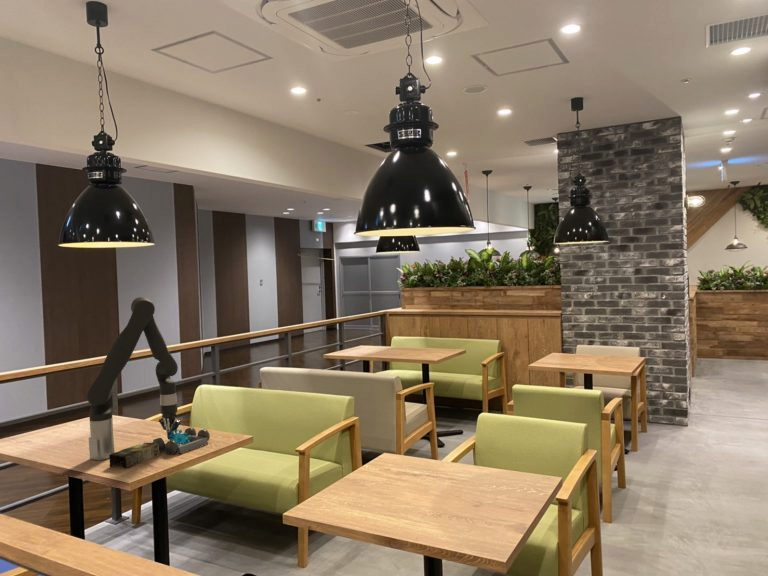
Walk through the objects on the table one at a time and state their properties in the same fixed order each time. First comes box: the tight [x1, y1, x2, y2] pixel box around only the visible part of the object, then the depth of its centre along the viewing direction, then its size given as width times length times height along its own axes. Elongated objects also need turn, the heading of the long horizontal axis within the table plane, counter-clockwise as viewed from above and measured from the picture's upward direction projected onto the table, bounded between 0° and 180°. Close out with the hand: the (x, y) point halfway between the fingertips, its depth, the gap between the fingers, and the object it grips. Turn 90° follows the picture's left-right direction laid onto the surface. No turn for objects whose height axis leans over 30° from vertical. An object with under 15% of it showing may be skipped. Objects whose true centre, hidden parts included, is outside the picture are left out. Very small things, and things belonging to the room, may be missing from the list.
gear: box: [169, 429, 191, 446], centre depth 272 cm, size 11×6×10 cm
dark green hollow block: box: [109, 441, 161, 469], centre depth 253 cm, size 20×10×6 cm, turn 156°
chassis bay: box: [152, 426, 211, 455], centre depth 270 cm, size 20×16×6 cm
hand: (170, 439), depth 275 cm, fingers closed
